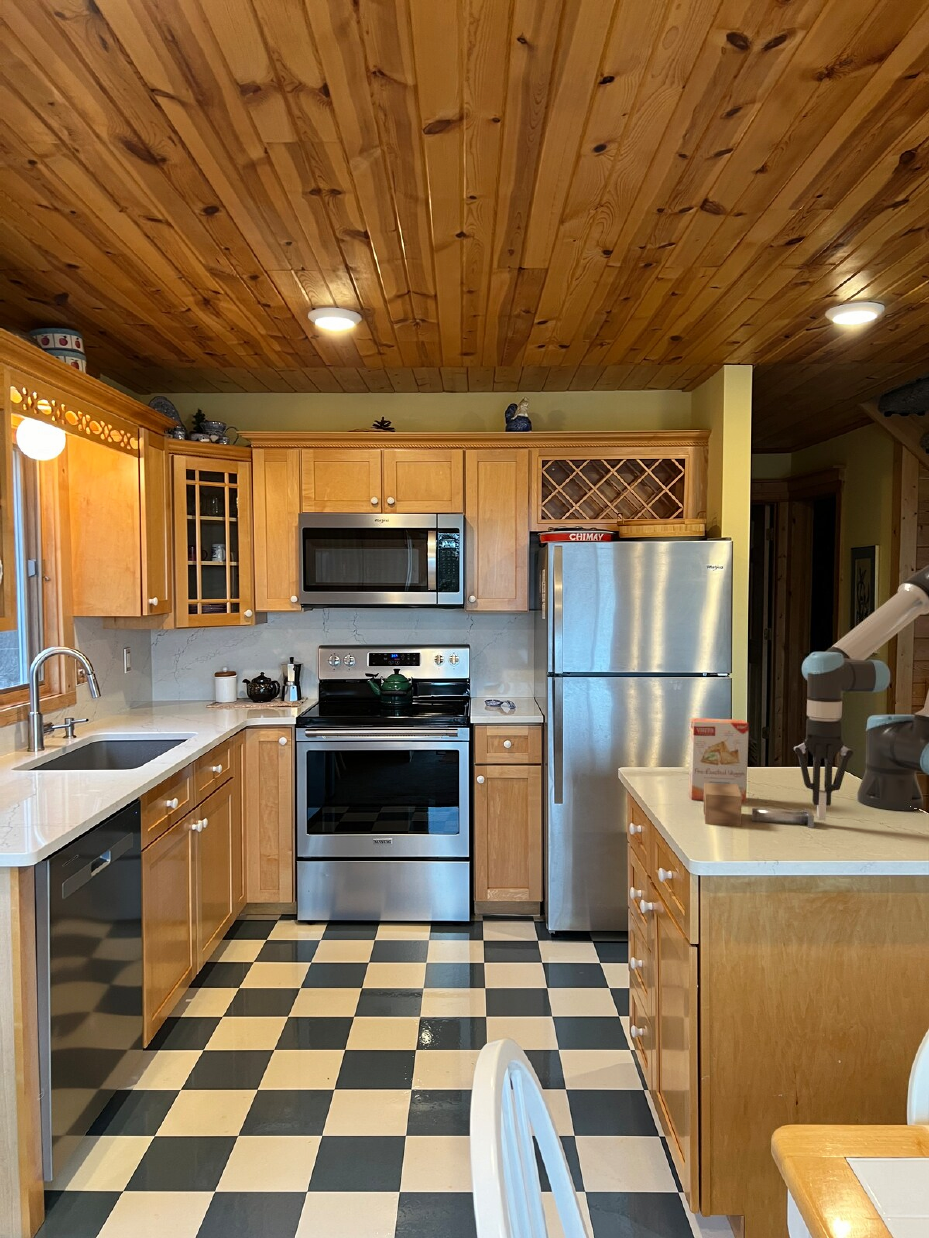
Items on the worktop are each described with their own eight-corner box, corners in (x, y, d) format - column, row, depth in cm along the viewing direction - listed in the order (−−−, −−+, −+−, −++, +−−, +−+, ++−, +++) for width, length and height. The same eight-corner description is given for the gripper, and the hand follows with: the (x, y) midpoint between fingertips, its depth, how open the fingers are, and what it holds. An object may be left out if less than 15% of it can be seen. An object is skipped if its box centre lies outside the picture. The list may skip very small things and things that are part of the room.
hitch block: (737, 812, 206) (737, 784, 206) (741, 826, 195) (741, 796, 194) (703, 810, 208) (703, 782, 208) (705, 823, 196) (705, 794, 196)
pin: (809, 821, 199) (809, 808, 199) (813, 828, 194) (813, 815, 193) (751, 817, 203) (751, 804, 202) (753, 824, 197) (753, 811, 197)
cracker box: (691, 800, 218) (693, 720, 217) (688, 795, 224) (689, 717, 223) (747, 802, 216) (749, 722, 215) (742, 796, 222) (744, 718, 221)
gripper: (850, 717, 197) (847, 816, 198) (791, 714, 200) (789, 812, 201) (857, 722, 190) (854, 825, 191) (796, 719, 193) (793, 820, 194)
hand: (821, 818), depth 196 cm, fingers closed
